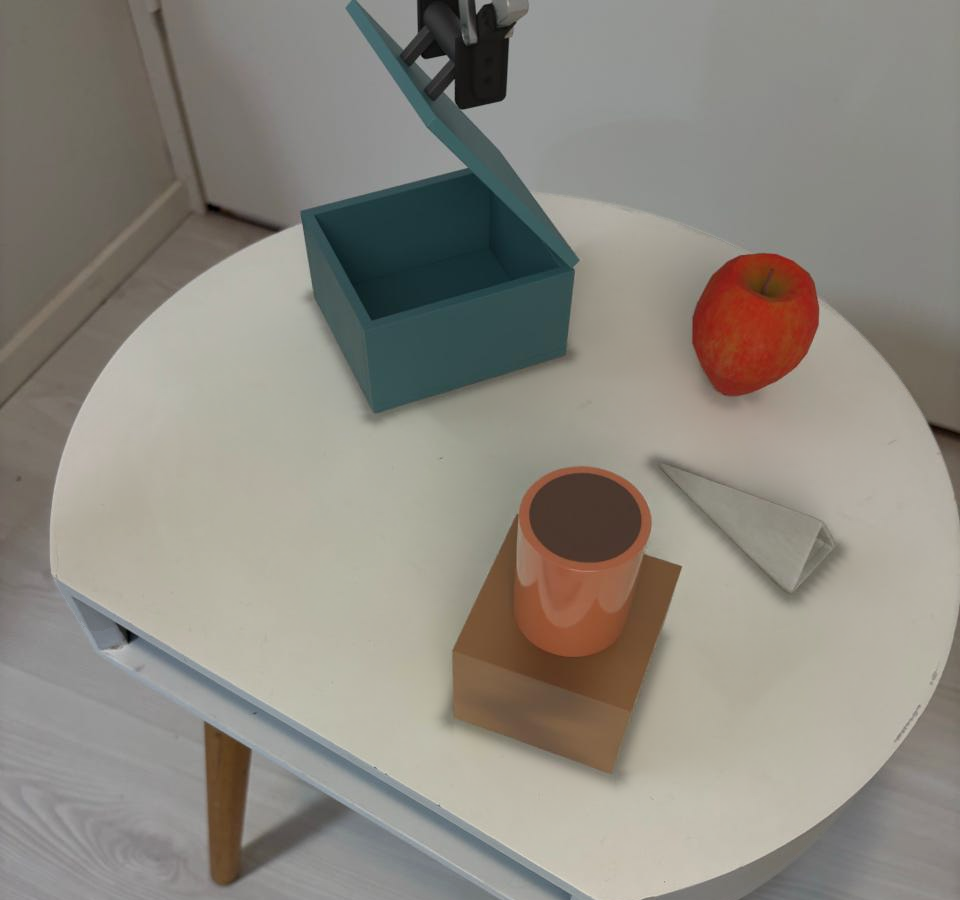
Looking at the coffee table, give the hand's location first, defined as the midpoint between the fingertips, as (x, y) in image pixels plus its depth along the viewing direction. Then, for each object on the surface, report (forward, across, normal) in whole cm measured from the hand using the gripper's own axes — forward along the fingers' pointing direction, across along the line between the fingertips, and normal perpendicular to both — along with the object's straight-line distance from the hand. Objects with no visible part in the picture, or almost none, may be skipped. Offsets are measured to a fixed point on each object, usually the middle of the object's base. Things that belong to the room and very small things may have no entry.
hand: (461, 74), depth 62 cm
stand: (+19, +32, -7) cm, 38 cm away
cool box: (+19, 0, -2) cm, 19 cm away
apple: (+19, +15, +16) cm, 29 cm away
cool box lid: (+5, 0, 0) cm, 5 cm away
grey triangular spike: (+19, +26, +9) cm, 34 cm away
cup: (+11, +32, -7) cm, 34 cm away
